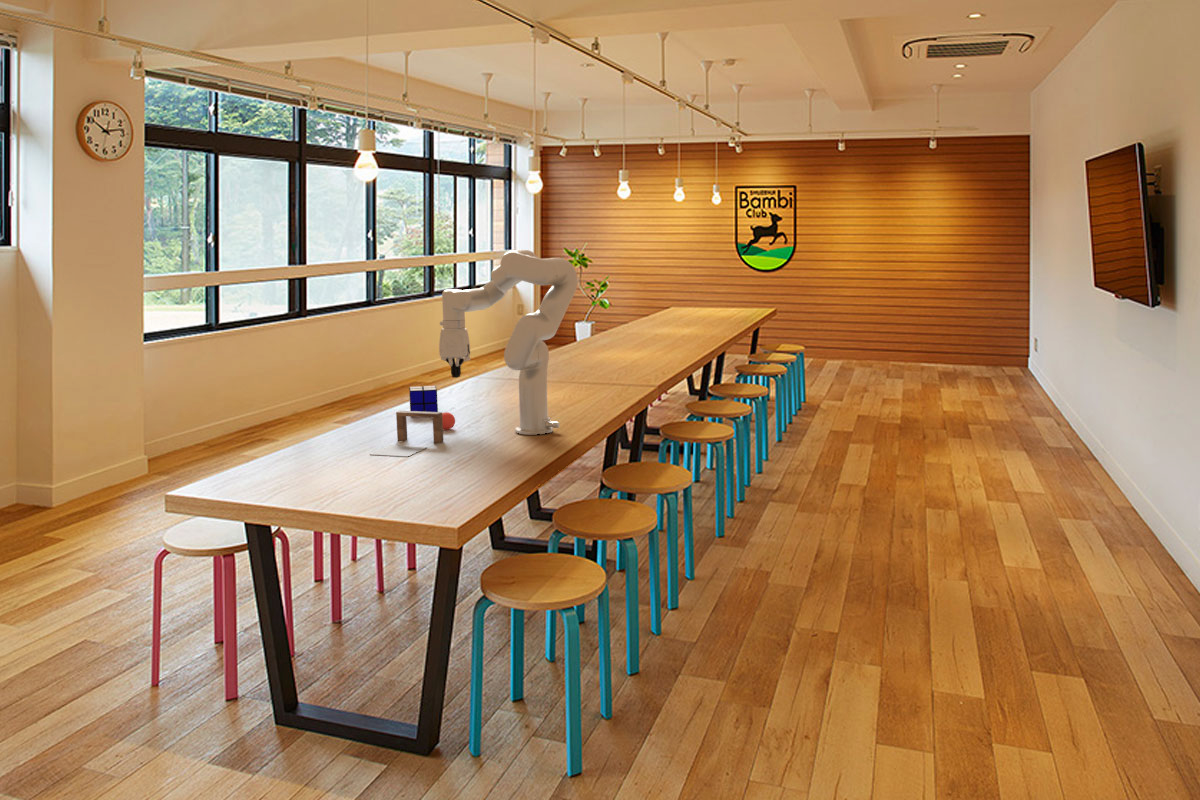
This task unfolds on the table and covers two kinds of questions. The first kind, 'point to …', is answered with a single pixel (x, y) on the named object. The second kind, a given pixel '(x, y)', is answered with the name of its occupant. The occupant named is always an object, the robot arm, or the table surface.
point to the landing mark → (398, 451)
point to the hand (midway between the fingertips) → (456, 376)
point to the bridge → (402, 416)
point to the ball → (448, 420)
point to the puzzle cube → (423, 399)
